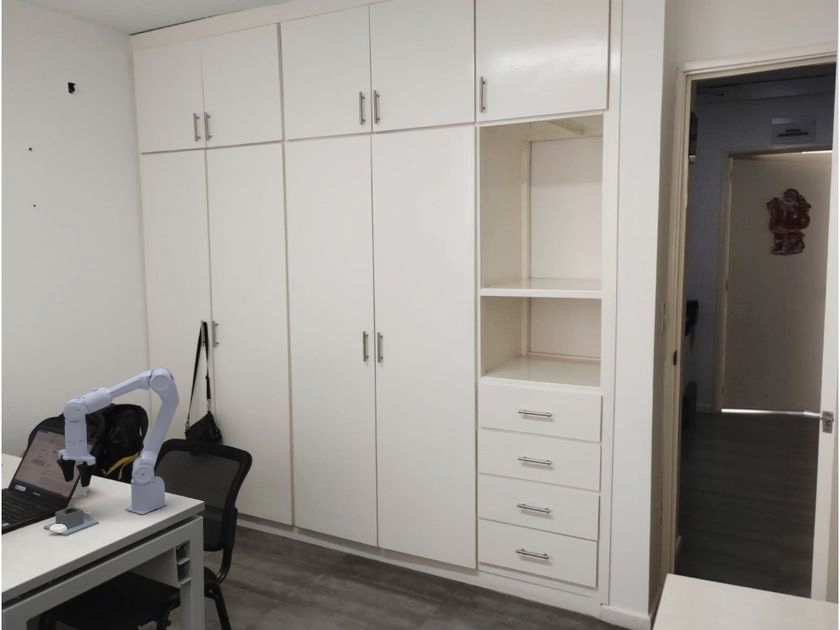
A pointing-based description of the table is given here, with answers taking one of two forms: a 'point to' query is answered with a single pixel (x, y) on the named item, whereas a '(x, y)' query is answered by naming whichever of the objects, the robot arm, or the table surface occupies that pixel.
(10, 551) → the table surface
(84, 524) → the keeper
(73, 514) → the grey open box
